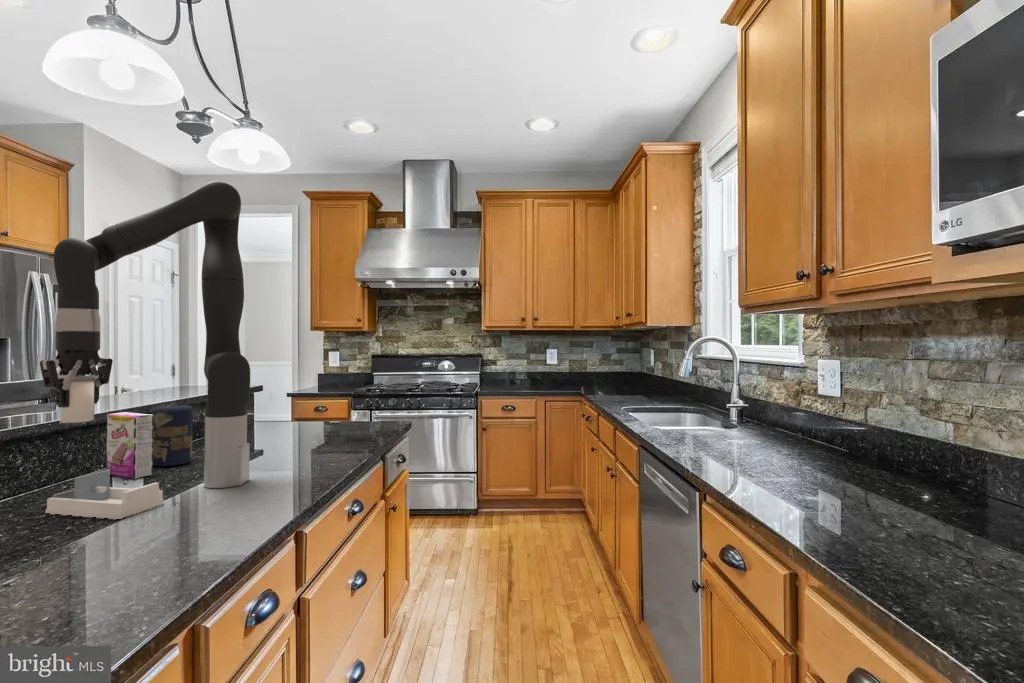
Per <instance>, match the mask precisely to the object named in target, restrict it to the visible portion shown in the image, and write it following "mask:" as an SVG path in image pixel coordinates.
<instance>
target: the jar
mask: <svg viewBox="0 0 1024 683" xmlns="http://www.w3.org/2000/svg"><path fill="white" fill-rule="evenodd" d="M94 380H95V375H76V376H74V379H73V380H71V381H70V382H71V383H70V385H69V388H68V389H67V390H69V407H64V408H62V407H60V408H61V410H60V414H61V415H60V416H61V417H60V418H61V419H60V421H61V422H60V423H62V424H73V423H75V424H77V423H85V422H92V421H95V404H94ZM63 381H64V379H62V382H63Z"/></svg>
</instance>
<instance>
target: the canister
mask: <svg viewBox="0 0 1024 683" xmlns="http://www.w3.org/2000/svg"><path fill="white" fill-rule="evenodd" d="M193 411H194V410H193V407H192V406H191V405H186V404H181V403H178V402H172V403H170V404H169V405H160V406H157V407H155V408H154V410H153V452H152V465H155V466H157V467H173V466H180V465H184V464H185V465H186V464H187V463H189V462H191V461H192V458H193V422H194V421H193V420H194V418H193V415H194V414H193V413H194V412H193Z"/></svg>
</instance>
